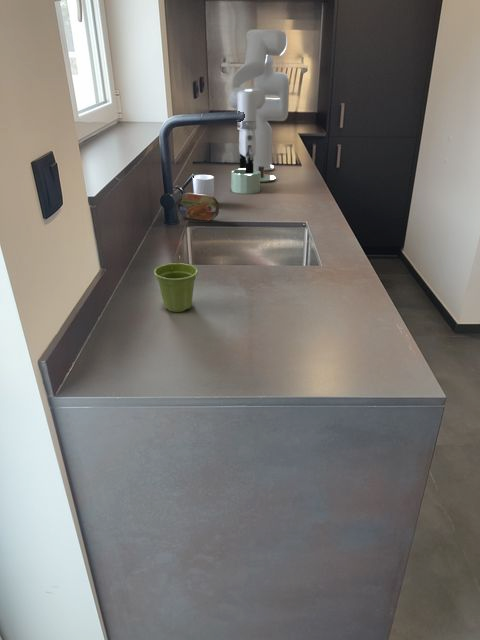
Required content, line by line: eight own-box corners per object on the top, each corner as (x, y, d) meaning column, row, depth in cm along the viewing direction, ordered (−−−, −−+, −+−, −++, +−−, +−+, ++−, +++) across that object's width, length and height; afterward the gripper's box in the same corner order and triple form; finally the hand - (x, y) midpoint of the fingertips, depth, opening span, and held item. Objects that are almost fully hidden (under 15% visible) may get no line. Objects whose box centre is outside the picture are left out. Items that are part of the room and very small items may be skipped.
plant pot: (159, 297, 116) (156, 262, 112) (199, 297, 117) (198, 262, 113) (155, 316, 108) (151, 279, 104) (198, 315, 109) (197, 279, 105)
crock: (228, 187, 212) (228, 169, 208) (255, 186, 215) (256, 168, 211) (234, 194, 202) (235, 175, 198) (263, 193, 205) (263, 174, 201)
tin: (177, 216, 172) (175, 192, 168) (181, 214, 175) (180, 190, 171) (216, 222, 168) (216, 197, 164) (220, 220, 171) (220, 195, 166)
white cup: (218, 203, 189) (217, 176, 184) (207, 208, 183) (207, 180, 178) (200, 200, 192) (199, 173, 187) (189, 205, 186) (188, 177, 181)
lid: (243, 176, 230) (243, 164, 227) (270, 176, 234) (270, 163, 231) (250, 183, 220) (251, 169, 217) (278, 182, 223) (279, 169, 220)
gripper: (262, 128, 189) (260, 175, 198) (250, 122, 203) (249, 165, 212) (242, 128, 187) (242, 175, 197) (232, 122, 202) (232, 166, 211)
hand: (246, 170), depth 204 cm, fingers open, 9 cm apart
